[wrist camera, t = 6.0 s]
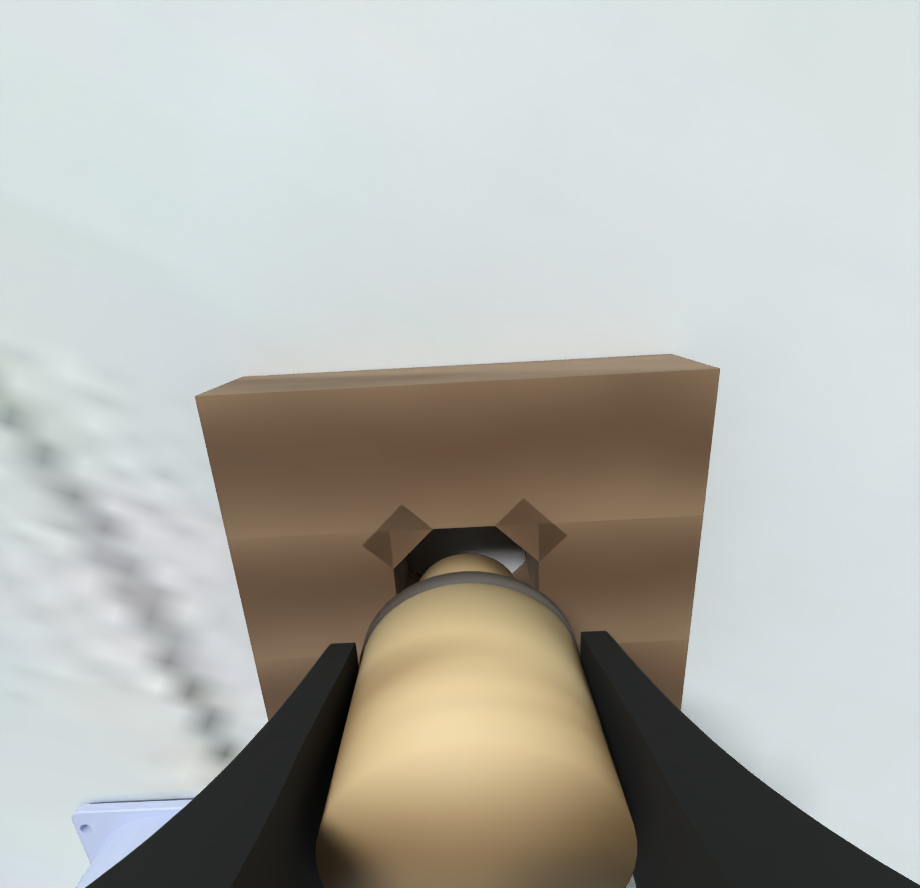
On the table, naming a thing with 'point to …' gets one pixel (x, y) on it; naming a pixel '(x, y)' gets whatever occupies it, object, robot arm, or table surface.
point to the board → (465, 495)
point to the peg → (473, 747)
